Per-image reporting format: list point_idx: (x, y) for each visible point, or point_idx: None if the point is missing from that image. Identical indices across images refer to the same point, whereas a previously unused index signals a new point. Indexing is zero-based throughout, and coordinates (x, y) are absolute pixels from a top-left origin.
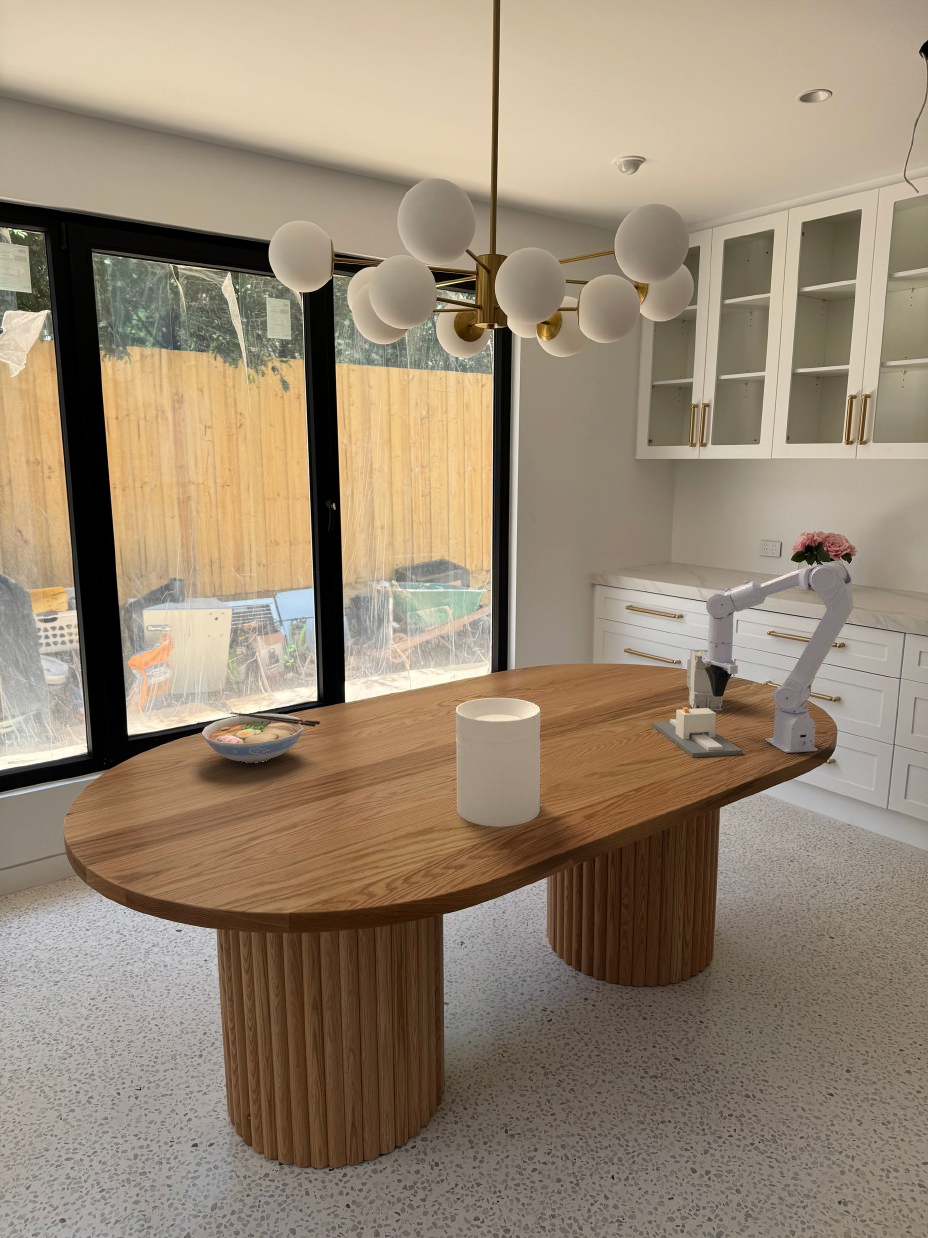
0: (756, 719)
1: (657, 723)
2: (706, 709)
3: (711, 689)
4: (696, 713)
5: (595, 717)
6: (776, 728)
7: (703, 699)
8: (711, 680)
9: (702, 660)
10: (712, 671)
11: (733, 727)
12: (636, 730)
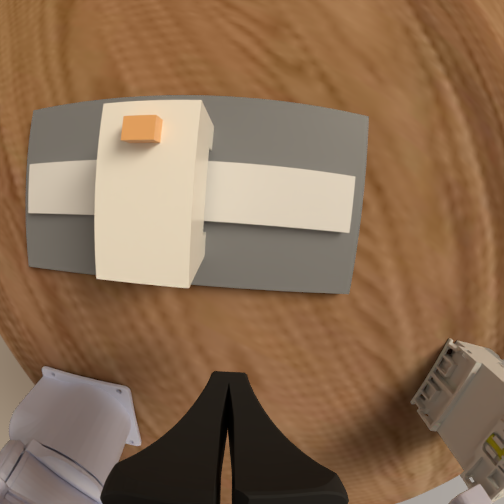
0: (311, 445)
1: (350, 124)
2: (162, 267)
3: (458, 412)
4: (107, 177)
5: (456, 33)
6: (70, 409)
7: (455, 377)
8: (235, 429)
9: (475, 489)
10: (123, 480)
11: (268, 376)
12: (328, 47)
